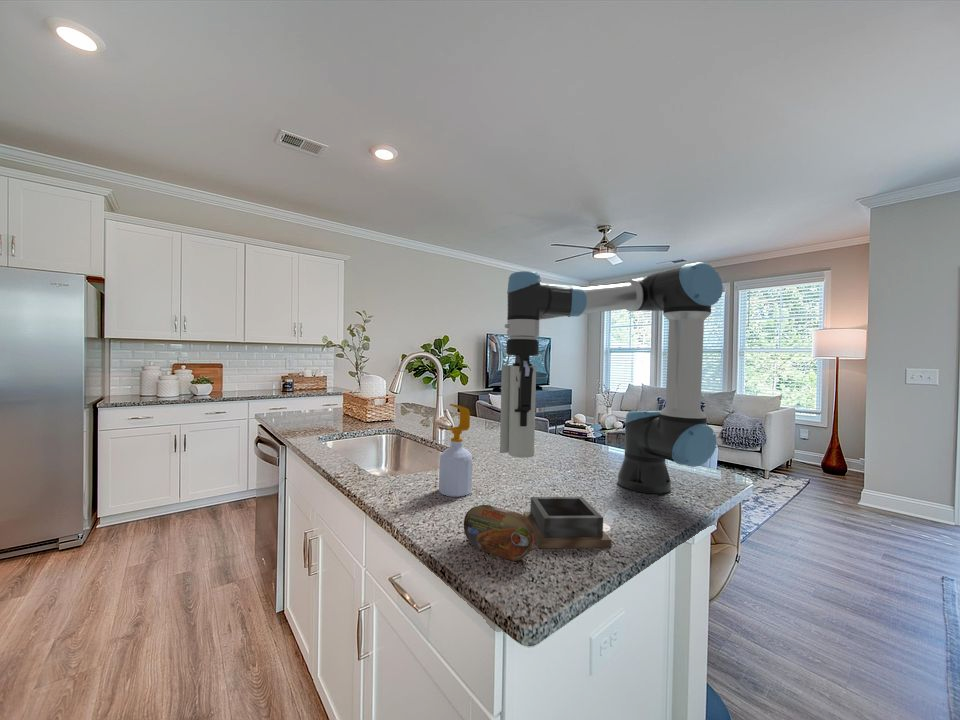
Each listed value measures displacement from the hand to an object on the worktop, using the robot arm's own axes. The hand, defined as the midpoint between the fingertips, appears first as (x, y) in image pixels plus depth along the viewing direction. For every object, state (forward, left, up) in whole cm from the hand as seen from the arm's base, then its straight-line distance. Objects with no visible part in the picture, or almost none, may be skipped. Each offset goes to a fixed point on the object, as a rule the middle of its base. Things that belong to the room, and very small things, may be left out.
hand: (520, 437), depth 94 cm
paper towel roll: (0, 0, -4) cm, 4 cm away
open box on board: (-9, +7, -19) cm, 22 cm away
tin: (+7, +16, -19) cm, 26 cm away
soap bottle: (+14, -19, -19) cm, 30 cm away
